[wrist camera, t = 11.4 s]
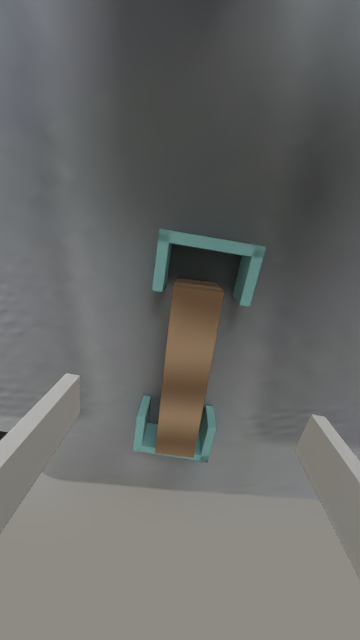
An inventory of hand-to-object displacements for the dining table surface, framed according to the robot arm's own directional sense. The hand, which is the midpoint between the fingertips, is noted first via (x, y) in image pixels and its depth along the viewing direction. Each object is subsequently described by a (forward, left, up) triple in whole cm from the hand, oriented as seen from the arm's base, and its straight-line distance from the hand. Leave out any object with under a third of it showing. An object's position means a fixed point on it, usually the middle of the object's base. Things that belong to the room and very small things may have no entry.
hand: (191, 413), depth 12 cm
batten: (+1, 0, -9) cm, 9 cm away
